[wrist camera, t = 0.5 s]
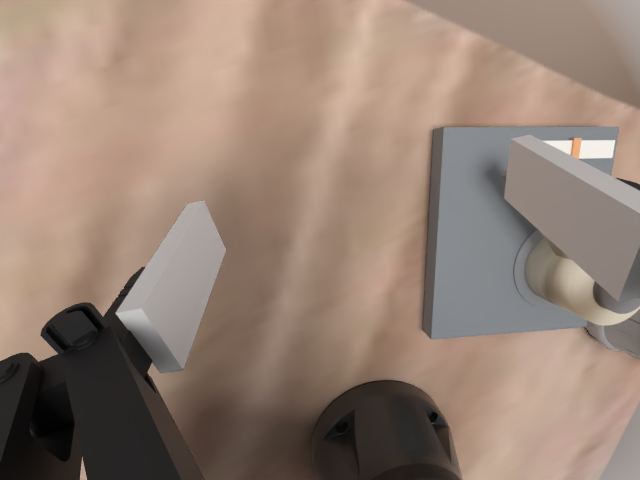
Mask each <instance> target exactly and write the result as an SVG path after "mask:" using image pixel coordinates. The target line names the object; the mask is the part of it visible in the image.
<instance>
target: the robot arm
mask: <svg viewBox="0 0 640 480" xmlns="http://www.w3.org/2000/svg"><path fill="white" fill-rule="evenodd" d="M504 199H505V200H506V201H507V202H508V203H509V204H511V205H512V206H513V207H514V208H515V209H516V210H517V211H518V212H519V213H521V214H522V215H523V216H524V217H525V218H526V219H527V220H528V221H529V222H530V223H532V224H533V225H534V226H535V227H536V228H537V229H538V230H539V231H540V232H542V233H543V234H544V235H545V236H546V237H547V238H548V239H549V240H550V241H551V242H553V243H554V244H555V245H556V246H557V247H558V248H559V249H560V250H561V251H563V252H564V253H565V254H566V255H567V256H568V257H569V258H570V259H571V260H572V261H574V262H575V263H576V264H577V265H578V266H579V267H580V268H581V269H582V270H584V271H585V272H586V273H587V274H588V275H589V276H590V277H591V278H592V279H593V280H595V281H596V282H597V283H598V284H599V285H600V286H601V287H602V288H603V289H605V290H606V291H607V292H608V293H609V294H610V295H611V296H612V297H613V298H614V299H616V300H617V301H624V300H630V299H636V298H640V185H639V184H637V183H634V182H631V181H627V180H623V179H619V178H614V177H612V176H610V175H608V174H606V173H604V172H602V171H600V170H598V169H596V168H594V167H592V166H590V165H588V164H587V163H585V162H583V161H581V160H579V159H577V158H575V157H573V156H571V155H569V154H567V153H565V152H563V151H561V150H559V149H557V148H555V147H553V146H551V145H549V144H547V143H545V142H543V141H542V140H540V139H538V138H536V137H534V136H532V135H526V136H521V137H516V138H511V141H510V150H509V159H508V167H507V176H506V185H505V194H504ZM225 252H226V249H225V247H224V245H223V242H222V240H221V238H220V235H219V233H218V231H217V228H216V226H215V224H214V222H213V219H212V217H211V215H210V212H209V210H208V208H207V206H206V203H205V201H204V200H203V201H198V202H193V203H188V204H187V205H186V207H185V208H184V210H183V211H182V213H181V214H180V216H179V217H178V219H177V220H176V222H175V223H174V225H173V226H172V228H171V230H170V231H169V233H168V234H167V236H166V237H165V239H164V240H163V242H162V243H161V245H160V246H159V248H158V249H157V251H156V252H155V254H154V255H153V257H152V258H151V260H150V261H149V263H148V264H147V266H146V267H142V268H141V269H140V270H138V271H137V272H136V273H135V274H134V275H133V276H132V277H131V278H130V279H129V281H128V282H127V283H126V285H125V286H124V289H122V291H121V292H120V294H119V295H118V298H116V299H115V301H114V302H113V304H112V305H111V307H110V308H109V309H108V311H107V312H106V314H105V315H104V317H102V315H101V314H100V313H99V312H98V310H97V309H96V308H95V306H94V305H92V304H91V303H80V304H76V305H73V306H71V307H69V308H66V309H64V310H63V311H61V312H60V313H58V314H56V315H55V316H54V317H53V318H52V319H50V320H49V321H48V322H47V323H46V325H45V326H44V327H43V329H42V331H41V336H42V337H43V338H44V339H45V340H46V341H47V343H48V344H49V345H50V346H51V347H52V348H53V349H54V350H55V351H56V352H57V353H58V354H57V355H55V356H52V357H50V358H47V359H45V360H42V361H40V362H38V361H37V360H36V359H35V358H34V357H33V356H32V355H30V354H29V353H19V354H16V355H13V356H10V357H8V358H7V359H5V360H2V361H0V480H80V470H81V461H82V457H83V462H84V466H85V471H86V475H87V480H205V479H204V477H203V475H202V473H201V471H200V469H199V468H198V466H197V464H196V462H195V460H194V458H193V456H192V454H191V452H190V450H189V449H188V447H187V445H186V443H185V441H184V439H183V437H182V435H181V433H180V431H179V430H178V428H177V426H176V424H175V422H174V420H173V418H172V416H171V414H170V412H169V410H168V409H167V407H166V405H165V403H164V401H163V399H162V397H161V395H160V393H159V391H158V390H157V388H156V386H155V384H154V382H153V380H152V378H151V377H150V376H149V375H148V373H147V372H148V370H149V368H150V365H151V363H152V362H153V364H154V365H155V366H156V368H157V369H158V370H159V372H160V373H166V372H172V371H179V370H183V369H184V367H185V364H186V361H187V358H188V355H189V353H190V350H191V347H192V344H193V341H194V339H195V336H196V333H197V330H198V327H199V325H200V322H201V319H202V316H203V313H204V311H205V308H206V305H207V302H208V299H209V297H210V294H211V291H212V288H213V285H214V283H215V280H216V277H217V274H218V271H219V269H220V266H221V263H222V260H223V258H224V255H225ZM311 456H312V464H313V472H314V476H315V479H316V480H462V476H461V472H460V467H459V463H458V459H457V455H456V451H455V447H454V442H453V438H452V434H451V431H450V428H449V426H448V423H447V421H446V419H445V418H444V416H443V415H442V413H441V412H440V410H439V408H438V407H437V405H436V404H435V403H434V401H433V400H432V399H431V398H430V397H429V396H428V395H427V394H426V393H424V392H423V391H422V390H420V389H418V388H416V387H414V386H412V385H409V384H406V383H402V382H396V381H379V382H372V383H368V384H364V385H361V386H359V387H356V388H354V389H352V390H350V391H348V392H346V393H345V394H343V395H342V396H340V397H339V398H338V399H336V400H335V401H334V402H333V403H332V404H331V405H330V406H329V407H328V408H327V409H326V410H325V412H324V413H323V414H322V416H321V417H320V419H319V421H318V422H317V424H316V427H315V429H314V432H313V436H312V441H311Z"/></svg>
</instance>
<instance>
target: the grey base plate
mask: <svg viewBox="0 0 640 480" xmlns="http://www.w3.org/2000/svg"><path fill="white" fill-rule="evenodd" d="M618 131H619V127H443V128H439V129H435V130H433V147H432V165H431V184H430V203H429V221H428V240H427V259H426V278H425V296H424V315H423V331H424V332H425V333H426V334H427V335H428V336H429V338H430V339H443V338H456V337H468V336H481V335H493V334H506V333H518V332H531V331H543V330H556V329H568V328H581V327H586V324H587V320H585V319H583V318H581V317H579V316H577V315H575V314H573V313H571V312H569V311H567V310H565V309H563V308H561V307H559V306H557V305H555V304H553V303H551V302H549V301H547V300H545V299H543V298H541V297H539V296H537V295H536V294H534V293H533V292H532V291H531V289H530V288H529V286H528V284H527V281H526V277H525V267H526V262H527V259H528V256H529V254H530V252H531V251H532V249H533V248H534V246H535V245H536V244H537V243H538V242H539V241H540V240H541V239H543V238H544V237H543V235H542V234H541V232H540V231H539V230H538V229H537V228H536V227H535V226H534V225H533V224H532V223H530V222H529V221H528V220H527V219H526V218H525V217H524V216H523V215H522V214H521V213H519V212H518V211H517V210H516V209H515V208H514V207H513V206H512V205H511V204H509V203H508V202H507V201H506V200H505V199H504V194H505V185H506V182H505V181H504V179H503V178H502V177H501V175H502V174H503V173H505V172H506V171H507V167H508V159H509V150H510V141H511V138H516V137H521V136H526V135H532V136H534V137H536V138H538V139H540V140H542V141H543V142H545V143H547V144H549V145H551V146H553V147H555V148H557V149H559V150H561V151H563V152H565V153H567V154H569V155H571V156H573V157H575V158H577V159H579V160H581V161H583V162H585V163H587V164H588V165H590V166H592V167H594V168H596V169H598V170H600V171H602V172H604V173H606V174H608V175H610V176H611V173H612V167H613V161H614V155H615V149H616V143H617V137H618Z"/></svg>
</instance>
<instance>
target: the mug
mask: <svg viewBox="0 0 640 480" xmlns="http://www.w3.org/2000/svg"><path fill="white" fill-rule="evenodd" d="M586 329H587V330H588V331H589V333H590V334H591V335H592V336H594V337H595V338H596V339H597V340H598V342H600V343H601V344H602V345H604V346H605V347H606V348H608V349H610V350H615V351H619V352H625V353H627V354H629V355H631V356H633V357H635V358H637V359H639V360H640V309H639V310H638V311H637V312H636V313H635V314H634V315H632V316H631V317H630V318H628V319H626V320H625V321H623V322H620V323H618V324H614V325H607V326H604V325H597V324H594V323H592V322H590V321H587V324H586Z"/></svg>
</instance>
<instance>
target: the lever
mask: <svg viewBox="0 0 640 480" xmlns="http://www.w3.org/2000/svg"><path fill="white" fill-rule="evenodd" d="M506 176H507V171H506V172H505V173H503V174H502V175H501V177H502V178H503V179H504V181H505V182H506ZM541 234H542V235H543V237H544V238H543V239H541V240H540V241H539V242H538V243H537V244H536V245H535V246H534V248H533V249H532V251H531V252H530V254H529V256H528V259H527V262H526V267H525V277H526V281H527V284H528V286H529V288H530V289H531V291H532V292H533V293H534V294H536V295H537V296H539V297H541V298H543V299H545V300H547V301H549V302H551V303H553V304H555V305H557V306H559V307H561V308H563V309H565V310H567V311H569V312H571V313H573V314H575V315H577V316H579V317H581V318H583V319H585V320H587V321H590V322H592V323H594V324H597V325H604V326H607V325H614V324H618V323H620V322H623V321H625V320H626V319H628V318H630V317H631V316H632V315H634V314H635V313H636V312H637V311H638V310H639V309H640V298H636V299H630V300H624V301H617V300H616V299H614V298H613V297H612V296H611V295H610V294H609V293H608V292H607V291H606V290H605V289H603V288H602V287H601V286H600V285H599V284H598V283H597V282H596V281H595V280H593V279H592V278H591V277H590V276H589V275H588V274H587V273H586V272H585V271H584V270H582V269H581V268H580V267H579V266H578V265H577V264H576V263H575V262H574V261H572V260H571V259H570V258H569V257H568V256H567V255H566V254H565V253H564V252H563V251H561V250H560V249H559V248H558V247H557V246H556V245H555V244H554V243H553V242H551V241H550V240H549V239H548V238H547V237H546V236H545V235H544V234H543V233H542V232H541Z"/></svg>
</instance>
